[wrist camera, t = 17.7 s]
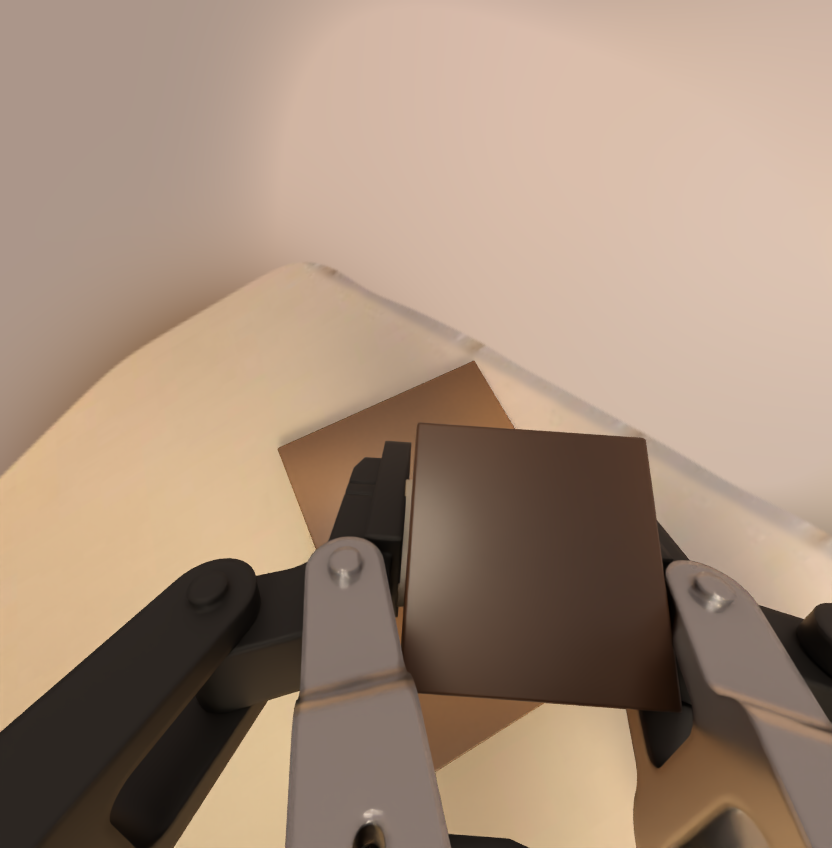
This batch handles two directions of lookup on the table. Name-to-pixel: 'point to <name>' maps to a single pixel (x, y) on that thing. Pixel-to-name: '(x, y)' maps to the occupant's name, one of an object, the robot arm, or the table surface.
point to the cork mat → (396, 421)
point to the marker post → (535, 570)
